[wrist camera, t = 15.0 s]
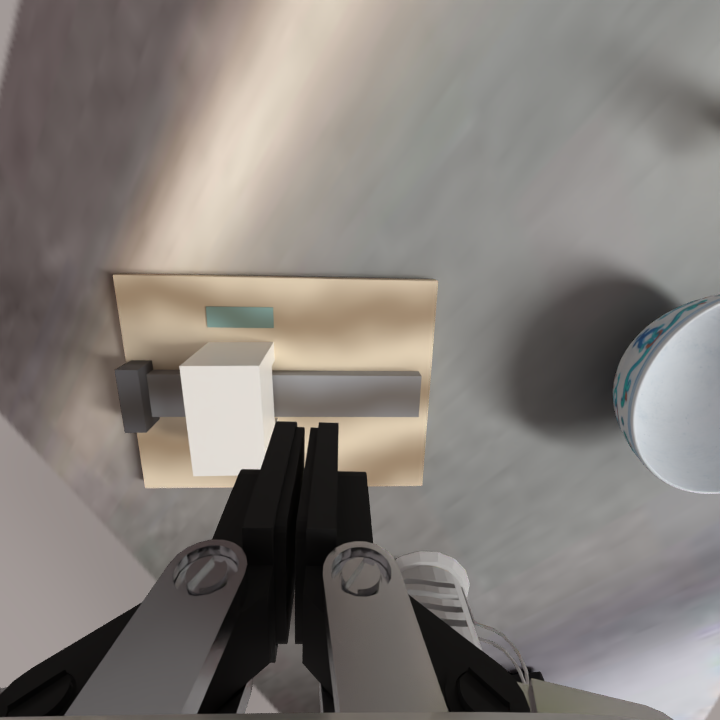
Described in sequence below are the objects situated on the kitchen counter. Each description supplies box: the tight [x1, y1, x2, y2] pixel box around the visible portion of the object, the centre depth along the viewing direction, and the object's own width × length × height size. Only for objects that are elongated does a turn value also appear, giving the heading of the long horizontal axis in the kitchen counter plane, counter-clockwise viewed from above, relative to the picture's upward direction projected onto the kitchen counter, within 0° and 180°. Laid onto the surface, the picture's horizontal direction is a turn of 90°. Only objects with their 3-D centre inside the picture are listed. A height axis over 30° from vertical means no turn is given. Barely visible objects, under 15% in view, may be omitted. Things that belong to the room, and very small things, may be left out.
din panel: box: [113, 273, 438, 488], centre depth 32 cm, size 18×24×4 cm
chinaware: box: [613, 294, 720, 494], centre depth 32 cm, size 15×15×8 cm
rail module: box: [179, 342, 278, 476], centre depth 30 cm, size 9×5×6 cm, turn 179°
